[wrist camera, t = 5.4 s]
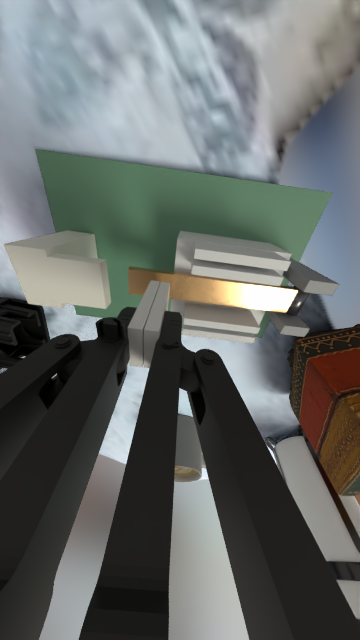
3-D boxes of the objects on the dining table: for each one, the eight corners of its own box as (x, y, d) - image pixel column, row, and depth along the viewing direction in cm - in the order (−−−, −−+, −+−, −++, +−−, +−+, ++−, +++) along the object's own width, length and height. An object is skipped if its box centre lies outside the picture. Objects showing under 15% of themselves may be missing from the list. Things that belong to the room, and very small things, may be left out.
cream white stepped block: (76, 273, 22) (28, 303, 16) (67, 230, 19) (3, 244, 13) (131, 281, 22) (106, 313, 16) (130, 239, 20) (98, 257, 13)
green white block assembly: (80, 310, 27) (37, 352, 19) (44, 152, 17) (-76, 110, 9) (258, 332, 28) (284, 382, 20) (324, 193, 18) (427, 185, 10)
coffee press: (315, 452, 50) (441, 702, 25) (258, 449, 50) (324, 688, 26) (347, 421, 40) (604, 778, 15) (276, 417, 41) (410, 752, 16)
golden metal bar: (132, 290, 18) (128, 296, 16) (131, 264, 16) (126, 268, 15) (292, 309, 18) (299, 316, 17) (305, 286, 17) (314, 292, 16)
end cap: (-8, 290, 26) (-62, 314, 20) (42, 302, 27) (2, 328, 21) (11, 340, 32) (-28, 369, 26) (52, 348, 32) (23, 379, 27)
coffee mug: (157, 429, 47) (150, 478, 39) (166, 411, 42) (159, 462, 34) (204, 438, 49) (207, 487, 40) (218, 421, 43) (225, 473, 35)
